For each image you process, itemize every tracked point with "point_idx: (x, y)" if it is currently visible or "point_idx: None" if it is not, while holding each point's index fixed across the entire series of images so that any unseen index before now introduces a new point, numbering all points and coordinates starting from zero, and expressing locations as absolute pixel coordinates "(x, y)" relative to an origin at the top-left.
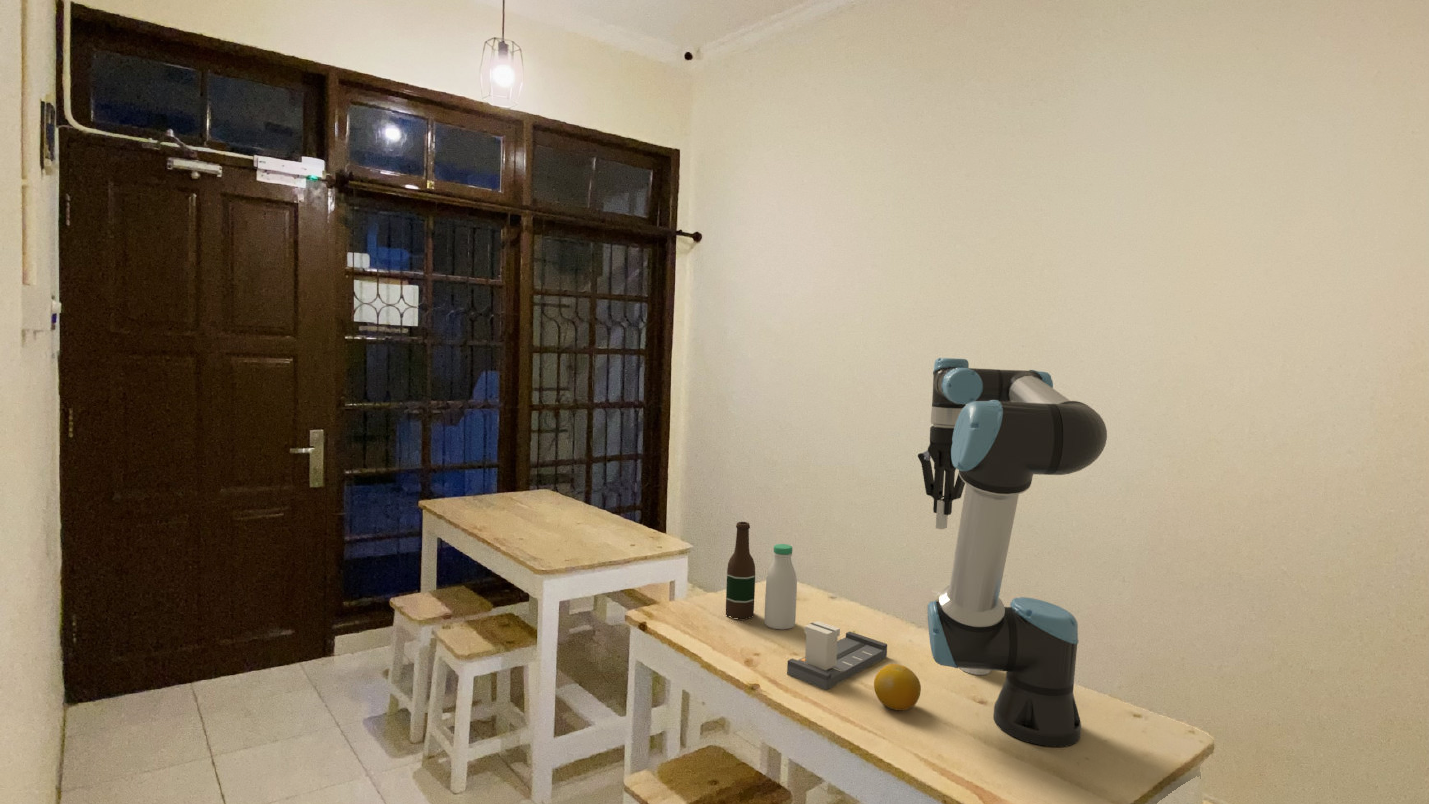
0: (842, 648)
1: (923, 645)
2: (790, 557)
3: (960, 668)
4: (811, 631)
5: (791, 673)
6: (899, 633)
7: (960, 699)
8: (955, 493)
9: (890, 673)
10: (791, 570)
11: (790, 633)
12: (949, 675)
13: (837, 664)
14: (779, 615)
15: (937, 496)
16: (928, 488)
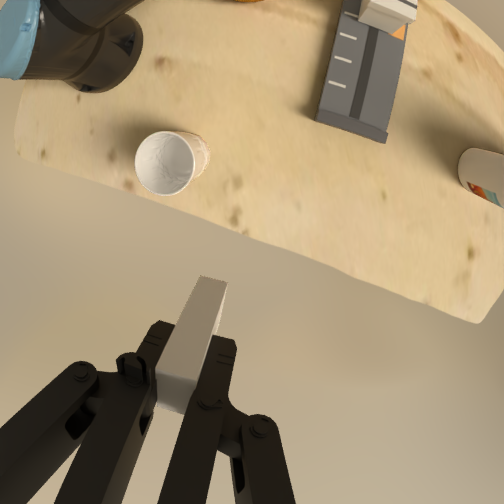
0: (375, 86)
1: (275, 197)
2: None
3: (204, 140)
4: None
5: None
6: (320, 225)
7: (184, 50)
8: (61, 387)
9: None
10: None
11: (454, 143)
12: (213, 109)
13: (358, 29)
14: (481, 150)
15: (192, 401)
16: (258, 455)
